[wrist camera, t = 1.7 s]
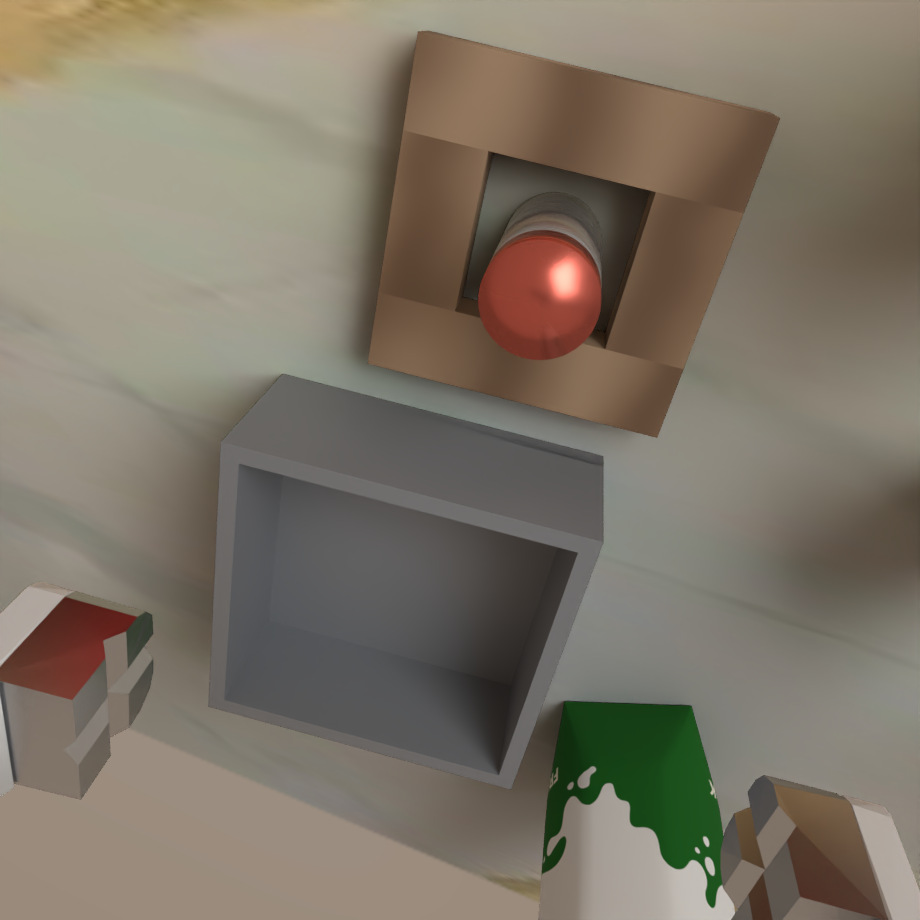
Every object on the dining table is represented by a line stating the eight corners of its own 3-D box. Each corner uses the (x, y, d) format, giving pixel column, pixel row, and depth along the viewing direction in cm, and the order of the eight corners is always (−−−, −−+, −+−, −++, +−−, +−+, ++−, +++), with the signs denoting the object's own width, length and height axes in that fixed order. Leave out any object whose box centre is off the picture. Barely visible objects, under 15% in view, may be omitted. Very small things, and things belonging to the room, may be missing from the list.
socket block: (769, 112, 28) (780, 118, 27) (654, 417, 35) (657, 437, 33) (428, 30, 29) (418, 31, 27) (378, 346, 36) (367, 363, 34)
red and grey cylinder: (613, 205, 31) (617, 258, 24) (585, 299, 33) (581, 372, 26) (517, 182, 31) (492, 227, 24) (495, 277, 33) (467, 343, 26)
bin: (603, 456, 37) (603, 542, 31) (523, 686, 45) (510, 789, 39) (282, 373, 37) (220, 441, 31) (260, 615, 45) (208, 706, 39)
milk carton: (547, 688, 44) (512, 1108, 27) (711, 693, 43) (785, 1147, 25) (556, 790, 49) (530, 1212, 31) (706, 799, 47) (766, 1250, 30)
